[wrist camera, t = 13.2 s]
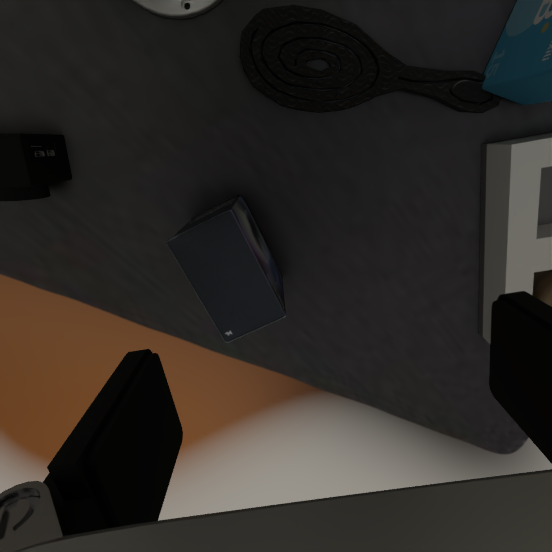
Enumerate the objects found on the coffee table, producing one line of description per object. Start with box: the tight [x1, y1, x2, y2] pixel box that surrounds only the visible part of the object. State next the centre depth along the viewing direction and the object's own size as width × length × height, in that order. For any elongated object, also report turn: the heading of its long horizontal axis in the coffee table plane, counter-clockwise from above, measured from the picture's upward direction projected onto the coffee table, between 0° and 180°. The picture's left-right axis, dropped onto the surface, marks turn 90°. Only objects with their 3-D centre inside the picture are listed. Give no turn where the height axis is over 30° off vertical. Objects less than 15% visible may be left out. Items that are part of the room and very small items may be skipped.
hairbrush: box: [240, 5, 502, 113], centre depth 34 cm, size 8×4×25 cm
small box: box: [166, 195, 286, 343], centre depth 36 cm, size 11×6×10 cm, turn 26°
